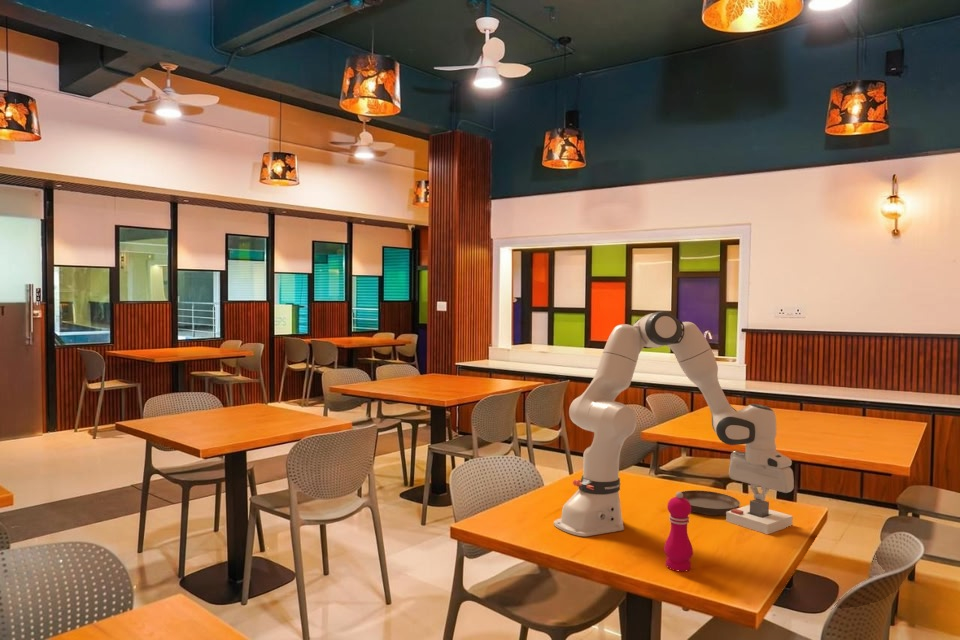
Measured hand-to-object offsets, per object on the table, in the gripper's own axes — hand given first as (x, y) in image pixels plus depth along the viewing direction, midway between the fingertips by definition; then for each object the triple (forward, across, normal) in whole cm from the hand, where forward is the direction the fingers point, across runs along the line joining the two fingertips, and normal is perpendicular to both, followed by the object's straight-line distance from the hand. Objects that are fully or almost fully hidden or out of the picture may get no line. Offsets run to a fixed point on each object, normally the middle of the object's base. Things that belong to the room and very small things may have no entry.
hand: (759, 499), depth 204 cm
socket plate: (+8, 0, 0) cm, 8 cm away
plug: (+8, 0, 0) cm, 8 cm away
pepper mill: (+8, +7, -49) cm, 50 cm away
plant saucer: (+8, -19, 0) cm, 21 cm away
